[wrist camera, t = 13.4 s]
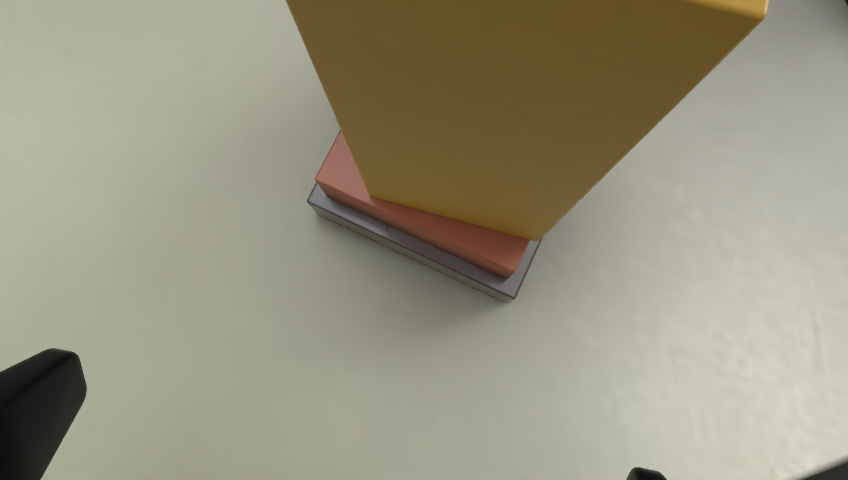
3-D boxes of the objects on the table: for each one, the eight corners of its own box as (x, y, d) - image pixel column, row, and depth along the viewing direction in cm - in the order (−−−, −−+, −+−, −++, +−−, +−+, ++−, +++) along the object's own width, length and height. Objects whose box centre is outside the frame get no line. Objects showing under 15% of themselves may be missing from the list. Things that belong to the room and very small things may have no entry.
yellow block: (537, 242, 19) (768, 18, 6) (368, 196, 19) (234, -112, 6) (578, 82, 20) (858, -420, 7) (416, 40, 20) (386, -513, 7)
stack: (507, 303, 22) (523, 294, 18) (316, 213, 23) (292, 187, 19) (590, 118, 23) (623, 72, 20) (407, 38, 24) (402, -22, 20)
